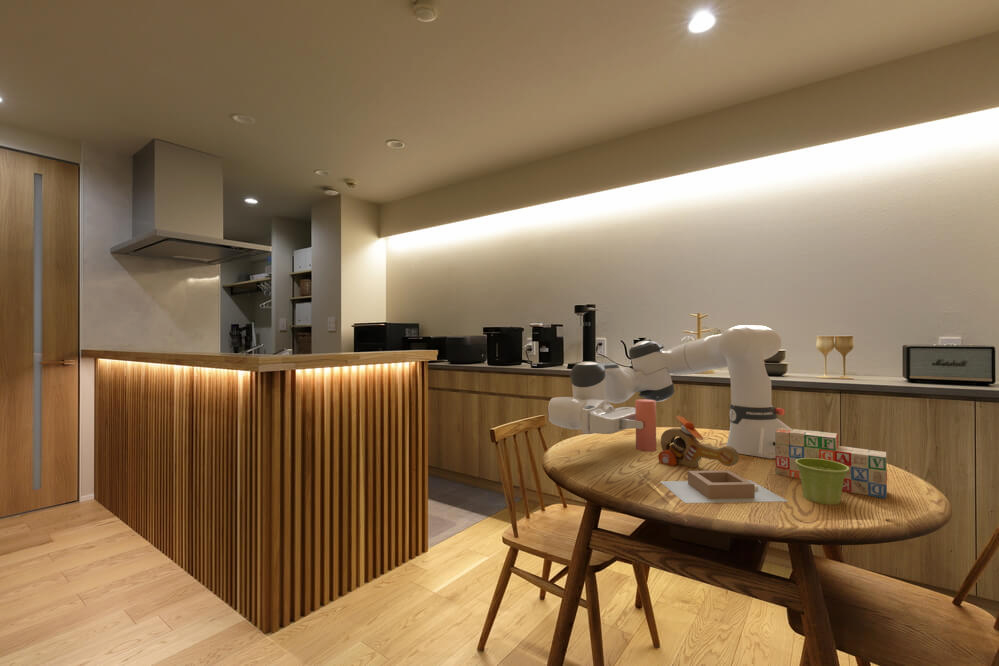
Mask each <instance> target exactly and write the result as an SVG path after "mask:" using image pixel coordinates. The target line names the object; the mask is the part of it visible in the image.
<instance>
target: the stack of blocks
mask: <svg viewBox="0 0 999 666" xmlns="http://www.w3.org/2000/svg"><path fill="white" fill-rule="evenodd" d="M790 428H791V427H790ZM790 428H779V429H778V430H776V431H775V455H776V458H775V475H780V476H783V477H785V476H786V477H790V478H795V479H796V478H797V479H801V476H800V471H799V469H798V465H797V464H796V462H795V460H796V459H800V458H816V459H825V460H830V461H834V462H838V463H841V464H844V465H846V466H848V467H849V471H848V472H847V473H846V477H845V478H844V482H843V487H842V492H846V493H847V492H848V493H853V494H859V495H864V496H869V497H874V498H880V499H887V495H888V467H887V465H888V463H887V461H888V460H887V459H888V458H887V451H880V450H873V449H871V450H870V449H867V448H866V449H865V448H858V447H850V446H844V445H843V446H841V445H839V443H838V442H839V441H838V435H839V434H838V433H837V432H825V431H818V430H806V429H797V428H791V429H790ZM838 445H839V446H838Z"/></svg>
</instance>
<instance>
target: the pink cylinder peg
mask: <svg viewBox="0 0 999 666" xmlns="http://www.w3.org/2000/svg"><path fill="white" fill-rule="evenodd" d="M634 403H635V407H634V408H635V409H636V421H637V420H641V421H644V422H645V427H644V428H642V429H637V428H635V449H636V450H637V451H639V452H646V453H647V452H648V453H650V452H652V453H653V452H657V408H656V407H657V402H656V401H655V400H648V399H645V398H642V399H639V398H638V399H635V402H634Z"/></svg>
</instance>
